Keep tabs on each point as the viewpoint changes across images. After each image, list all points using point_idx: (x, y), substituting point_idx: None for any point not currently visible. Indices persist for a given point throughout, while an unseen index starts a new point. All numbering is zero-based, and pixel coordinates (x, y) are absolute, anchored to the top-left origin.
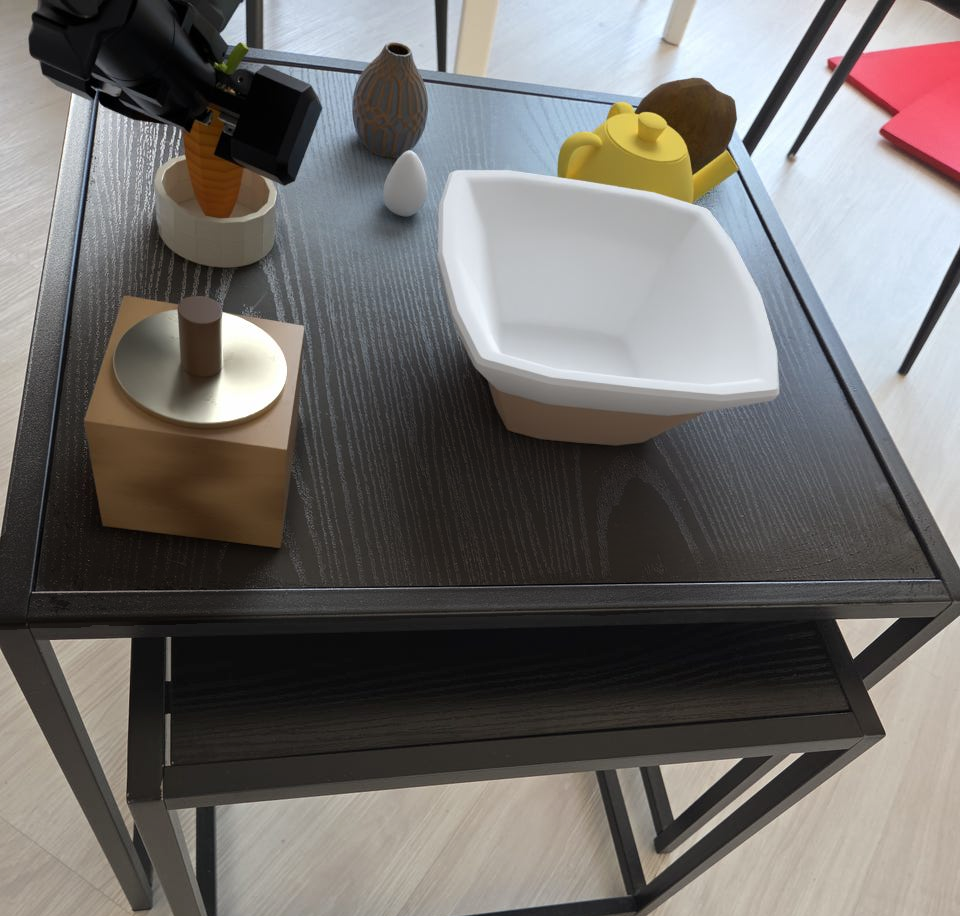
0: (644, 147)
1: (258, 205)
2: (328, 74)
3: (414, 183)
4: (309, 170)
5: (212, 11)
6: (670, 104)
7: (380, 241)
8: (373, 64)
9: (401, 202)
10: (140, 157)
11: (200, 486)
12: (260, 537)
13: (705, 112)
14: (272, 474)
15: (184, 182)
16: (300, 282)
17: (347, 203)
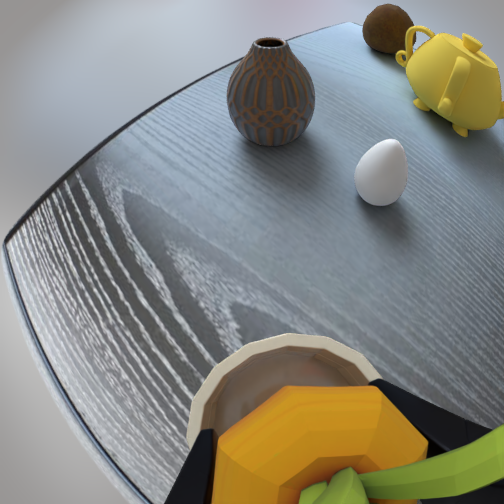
0: (482, 58)
1: (303, 354)
2: (157, 110)
3: (407, 171)
4: (256, 219)
5: None
6: (398, 19)
7: (408, 253)
8: (251, 69)
9: (398, 196)
10: (107, 374)
11: None
12: None
13: (410, 19)
14: None
15: (209, 420)
16: (421, 394)
17: (334, 230)
